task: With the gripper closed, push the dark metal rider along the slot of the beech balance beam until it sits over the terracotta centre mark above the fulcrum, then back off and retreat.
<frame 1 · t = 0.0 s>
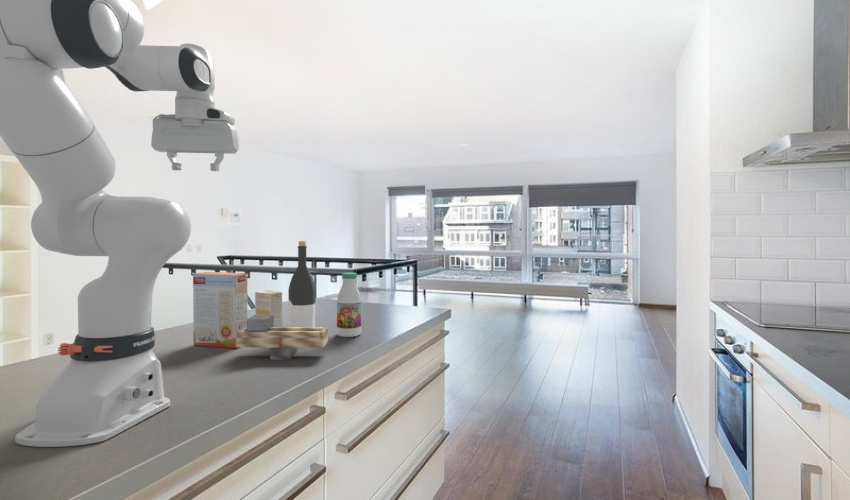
hand: (195, 170, 110), 48 cm above the worktop, fingers open, 8 cm apart
milk bottle: (348, 335, 140), on the worktop
supplement box: (268, 331, 144), on the worktop
wine bottle: (301, 338, 136), on the worktop
cracker box: (220, 345, 126), on the worktop
beam: (283, 355, 116), on the worktop
rider: (260, 325, 115), point 8 cm above the worktop, slide at 6.0 cm
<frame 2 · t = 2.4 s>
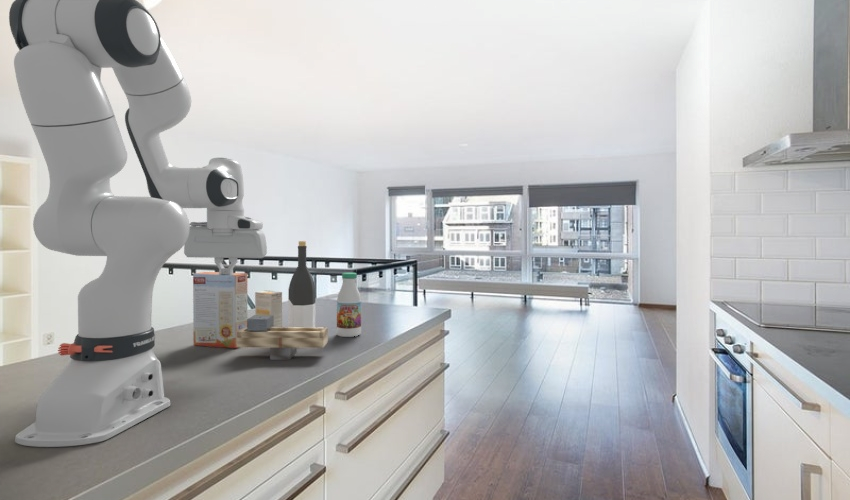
hand: (226, 275, 115), 21 cm above the worktop, fingers closed
nothing on the worktop moved.
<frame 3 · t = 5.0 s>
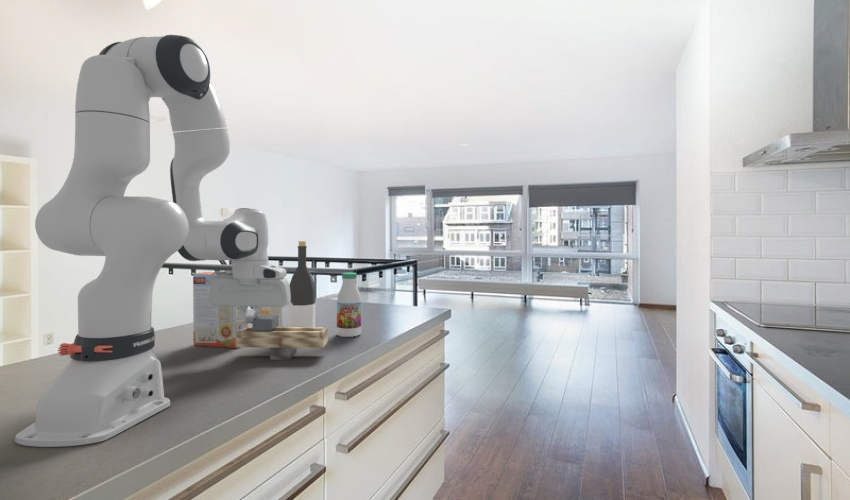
hand: (250, 323, 115), 9 cm above the worktop, fingers closed
rider: (265, 325, 115), point 8 cm above the worktop, slide at 4.7 cm, touching gripper
everything else where it was.
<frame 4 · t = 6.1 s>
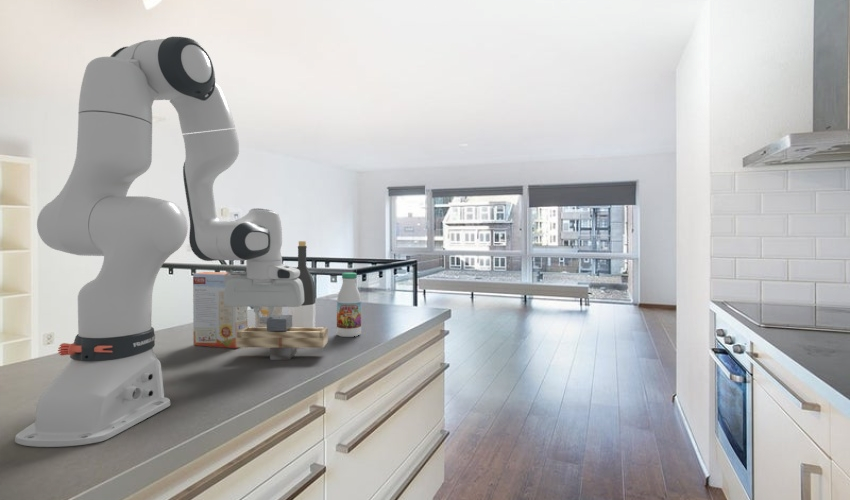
hand: (264, 323, 115), 9 cm above the worktop, fingers closed
rider: (279, 325, 116), point 8 cm above the worktop, slide at 1.0 cm, touching gripper
everything else where it was.
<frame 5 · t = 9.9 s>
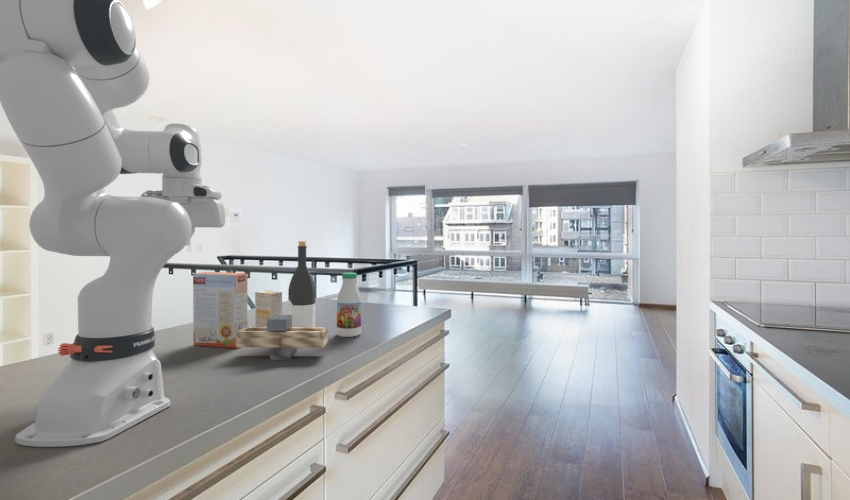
hand: (182, 245, 112), 29 cm above the worktop, fingers closed
rider: (279, 325, 116), point 8 cm above the worktop, slide at 1.0 cm
everything else where it was.
at the end: rider slide at 1.0 cm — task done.
